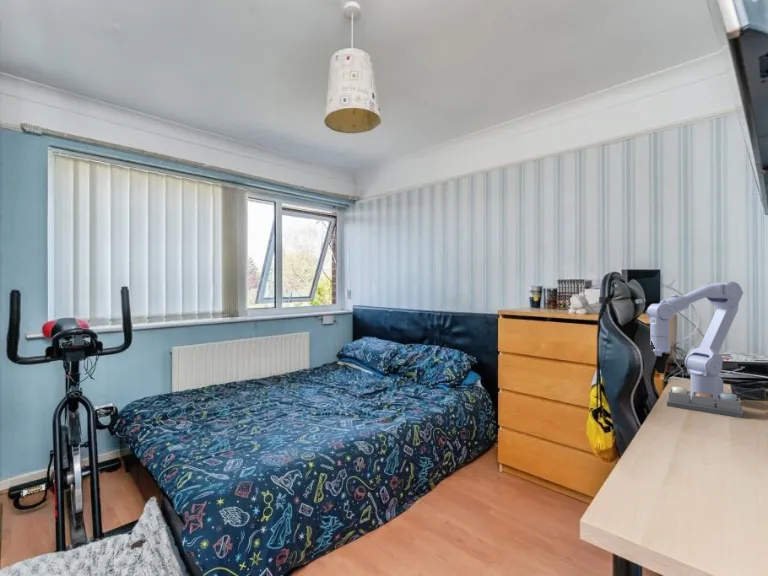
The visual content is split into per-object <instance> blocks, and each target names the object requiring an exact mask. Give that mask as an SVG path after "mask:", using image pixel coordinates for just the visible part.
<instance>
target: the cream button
mask: <svg viewBox="0 0 768 576" xmlns="http://www.w3.org/2000/svg"><path fill="white" fill-rule="evenodd" d="M671 389H672V392H674V393H681V394H687V391H688V388H686V387H683V386H672V387H671Z"/></svg>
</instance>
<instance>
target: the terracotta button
mask: <svg viewBox="0 0 768 576" xmlns="http://www.w3.org/2000/svg"><path fill="white" fill-rule="evenodd" d="M695 395H696V396H703V397H710V398H711V395H710V394H706V393H695Z"/></svg>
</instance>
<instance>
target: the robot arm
mask: <svg viewBox="0 0 768 576" xmlns="http://www.w3.org/2000/svg"><path fill="white" fill-rule="evenodd" d="M743 295H744V291H743V289H742V287H741V285H740V284H739V283H738V282H735V281H729V282H728V281H727V282H713V281H712V282H711V281H710V282H707V283H705V284H701V286H699V287H698V288H695V289H694V290H692V291H690V292H688V293H686V294H684V295H682V294H671V295H670V297H669V298H667V299H662V300H660V301H659V303H651V304H650V305H649V306H648V307H647V309H646V310H645V314H646V316H647V317H648V322H649V327H650V332H649V333H650V342H651V341H652V343H653V345H654V347H655V349H653V351H652V352H653V353H654V354H655V356H658V357H657V363H658V364H657V367H656V368H655V371H656V373H657V374H663V375H664V374H665V371H666V368H667V367H666V366H667V363H668V360H669V358H670V356H671V353H670V352H671V340H670V339H671V336H670V333H671V332H670V331H671V330H670V325H671V323H670V320H671V319H673V317H674V315H675V314H677V313H680V312H682V311H684V310H686V309H688V308H689V307H690V304H692V303H695V302H698V301H700V300H703V299H705V298H706V299H707V300H708V301H709V303H710V304H711V305H713V306H714V307H715V309H716V311H715V313H714V315H713V317H712V319H711V321H710V324H709V326H708V327H707V330H706V332H705V335H704V336H703V339H702V341H701V343H700V345H699V346H698V347H695V348H694V349H692V350H691V352H690V353H689V354H688V355H687V356H686V357H685V359H684V366H685V369H687V370H688V372H689V374H690V395H691V399H692V393H693V392H698V393H706V394H712V395H714V402H717V395H720V393H724V380H723V379H722V377H721V376H719V374H721V373H722V371H723V362H724V357H723V355H722V354H721V353H720V350H721V349H722V346H723V343H724V342H725V339H726V337H727V335H728V332H729V331H730V328H731V326H732V324H733V321H734V320H735V317H736V315H737V313H738V310H739V305H740V302H741V298H742V297H743ZM668 352H669V353H668Z"/></svg>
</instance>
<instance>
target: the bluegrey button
mask: <svg viewBox="0 0 768 576" xmlns="http://www.w3.org/2000/svg"><path fill="white" fill-rule="evenodd" d="M737 398H738V395H737V394H735V393H728V392H723V393H720V399H724V400H732V401H737Z"/></svg>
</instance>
